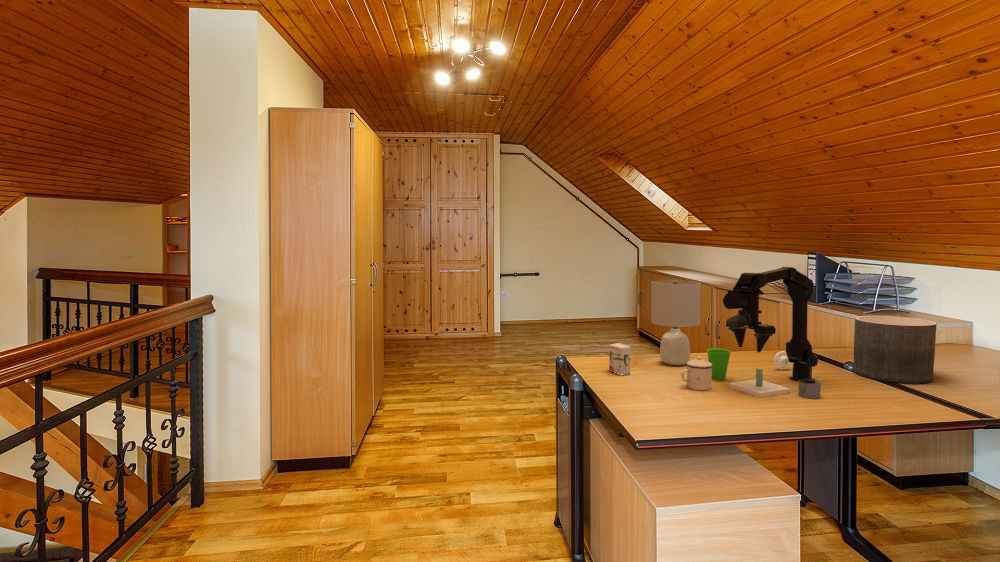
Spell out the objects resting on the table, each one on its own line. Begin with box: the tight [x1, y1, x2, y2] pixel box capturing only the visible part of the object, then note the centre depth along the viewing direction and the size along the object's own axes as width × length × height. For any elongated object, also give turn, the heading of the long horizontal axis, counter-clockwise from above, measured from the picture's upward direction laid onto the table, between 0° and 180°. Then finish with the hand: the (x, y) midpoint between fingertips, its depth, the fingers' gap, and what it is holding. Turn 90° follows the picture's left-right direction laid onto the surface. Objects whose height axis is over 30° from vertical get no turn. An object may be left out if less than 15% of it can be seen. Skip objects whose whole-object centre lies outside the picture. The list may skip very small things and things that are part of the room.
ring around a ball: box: [773, 350, 793, 371], centre depth 215 cm, size 8×6×8 cm
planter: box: [852, 315, 937, 385], centre depth 203 cm, size 25×25×22 cm
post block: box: [728, 368, 791, 398], centre depth 187 cm, size 14×14×8 cm
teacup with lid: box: [680, 355, 713, 391], centre depth 191 cm, size 12×9×12 cm
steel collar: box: [797, 379, 822, 400], centre depth 179 cm, size 6×6×5 cm
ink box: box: [608, 342, 632, 374], centre depth 213 cm, size 9×5×12 cm, turn 25°
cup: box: [705, 348, 732, 381], centre depth 203 cm, size 9×9×11 cm
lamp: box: [650, 280, 702, 367], centre depth 226 cm, size 20×20×37 cm
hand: (749, 349), depth 188 cm, fingers open, 9 cm apart
